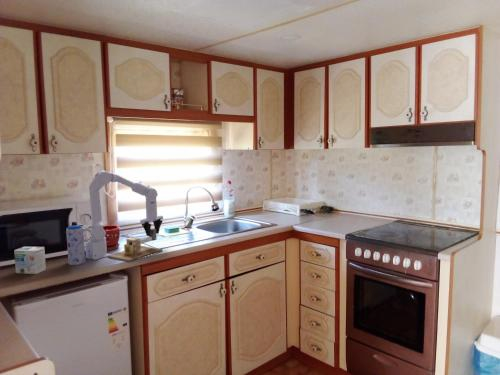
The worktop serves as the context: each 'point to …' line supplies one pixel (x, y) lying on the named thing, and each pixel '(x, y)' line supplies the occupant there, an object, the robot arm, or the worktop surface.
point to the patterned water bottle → (75, 244)
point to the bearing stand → (138, 251)
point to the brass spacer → (128, 251)
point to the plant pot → (112, 236)
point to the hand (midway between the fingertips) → (152, 234)
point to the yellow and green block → (151, 237)
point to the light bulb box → (30, 260)
